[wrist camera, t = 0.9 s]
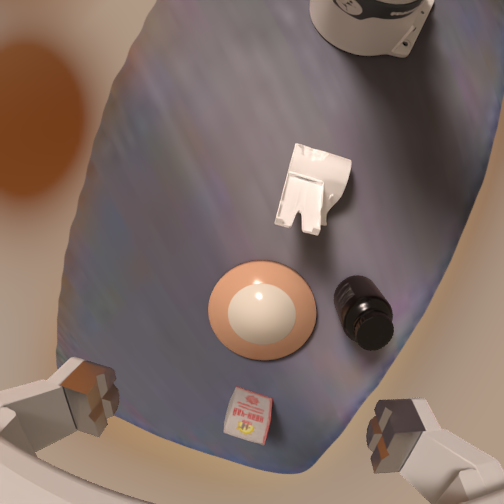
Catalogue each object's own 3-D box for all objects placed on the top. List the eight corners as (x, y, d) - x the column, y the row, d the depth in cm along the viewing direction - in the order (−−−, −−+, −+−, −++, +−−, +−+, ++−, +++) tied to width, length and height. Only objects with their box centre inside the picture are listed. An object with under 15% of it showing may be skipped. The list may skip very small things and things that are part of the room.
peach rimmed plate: (255, 237, 46) (254, 240, 44) (337, 305, 47) (338, 310, 45) (190, 313, 50) (187, 318, 48) (268, 371, 51) (267, 377, 49)
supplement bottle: (341, 322, 47) (355, 366, 36) (326, 285, 46) (338, 321, 35) (382, 305, 46) (406, 344, 35) (369, 266, 45) (393, 298, 33)
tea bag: (264, 411, 53) (260, 451, 44) (229, 399, 53) (219, 438, 44) (272, 398, 52) (269, 438, 43) (236, 386, 52) (227, 425, 43)
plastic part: (347, 160, 42) (368, 156, 30) (327, 228, 44) (341, 247, 33) (295, 144, 42) (299, 134, 31) (275, 212, 44) (272, 226, 33)
